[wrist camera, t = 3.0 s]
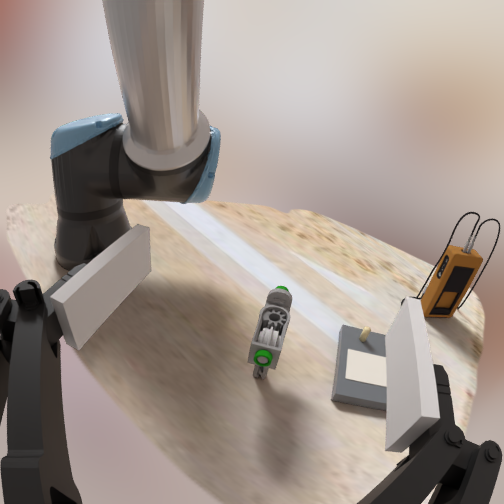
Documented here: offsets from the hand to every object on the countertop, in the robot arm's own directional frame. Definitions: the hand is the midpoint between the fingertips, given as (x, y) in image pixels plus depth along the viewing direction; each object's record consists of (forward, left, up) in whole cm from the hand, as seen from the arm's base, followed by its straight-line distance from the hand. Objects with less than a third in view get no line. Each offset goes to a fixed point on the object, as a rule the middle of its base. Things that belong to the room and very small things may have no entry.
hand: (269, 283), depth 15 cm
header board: (+16, +16, -22) cm, 31 cm away
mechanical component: (0, +11, -22) cm, 24 cm away
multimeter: (+26, +36, -22) cm, 49 cm away
